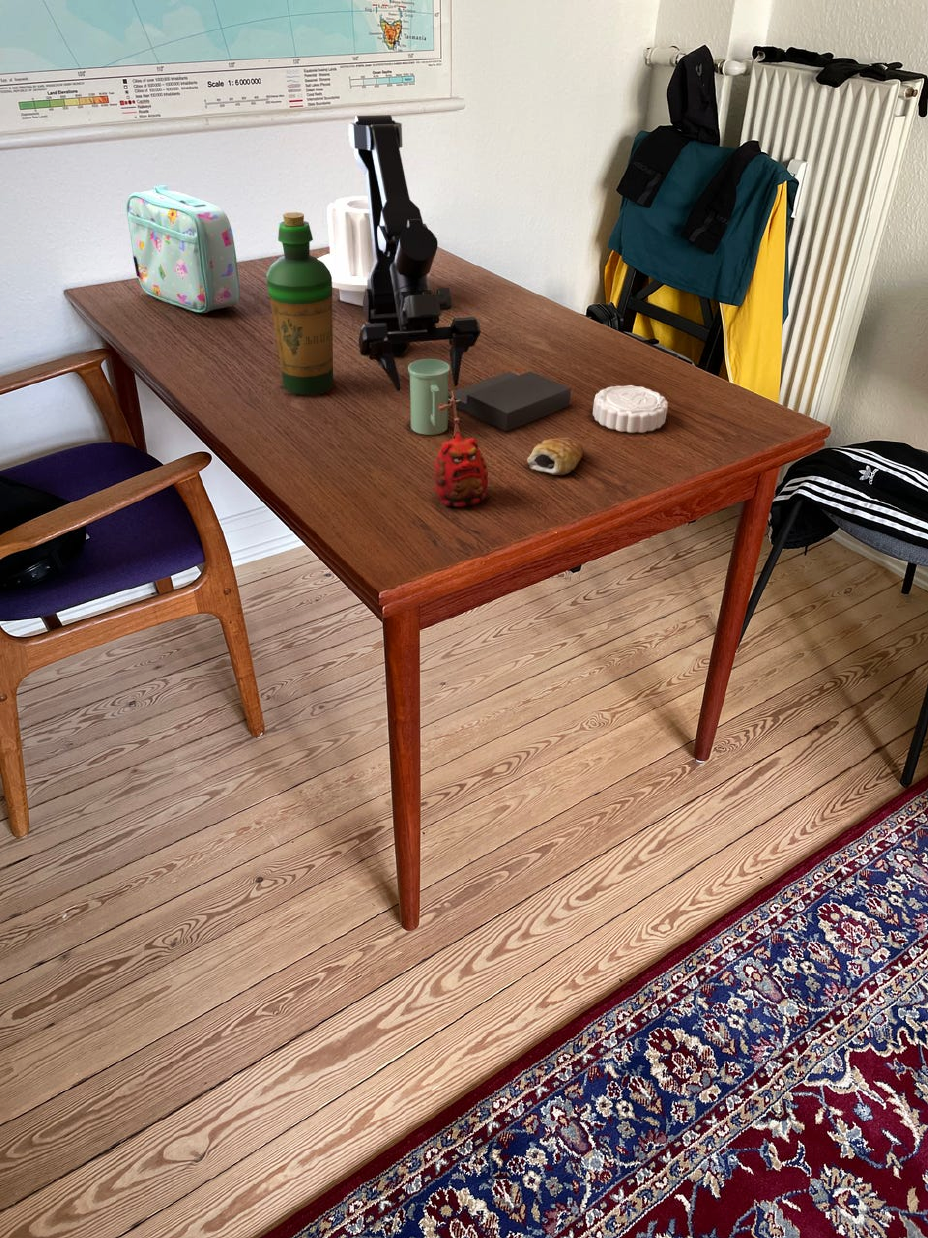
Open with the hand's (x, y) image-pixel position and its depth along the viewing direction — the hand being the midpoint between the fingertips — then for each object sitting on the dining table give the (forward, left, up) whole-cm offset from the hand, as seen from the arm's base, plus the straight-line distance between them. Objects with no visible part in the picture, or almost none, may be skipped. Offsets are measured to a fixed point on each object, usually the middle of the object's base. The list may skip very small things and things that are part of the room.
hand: (428, 387), depth 142 cm
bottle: (-23, +9, -6) cm, 26 cm away
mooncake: (+32, +10, -6) cm, 34 cm away
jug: (+1, -2, -6) cm, 7 cm away
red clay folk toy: (+10, -22, -6) cm, 24 cm away
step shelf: (+11, +11, -6) cm, 17 cm away
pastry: (+22, -9, -6) cm, 24 cm away
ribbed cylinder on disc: (-25, +56, -6) cm, 62 cm away
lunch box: (-62, +45, -6) cm, 77 cm away
